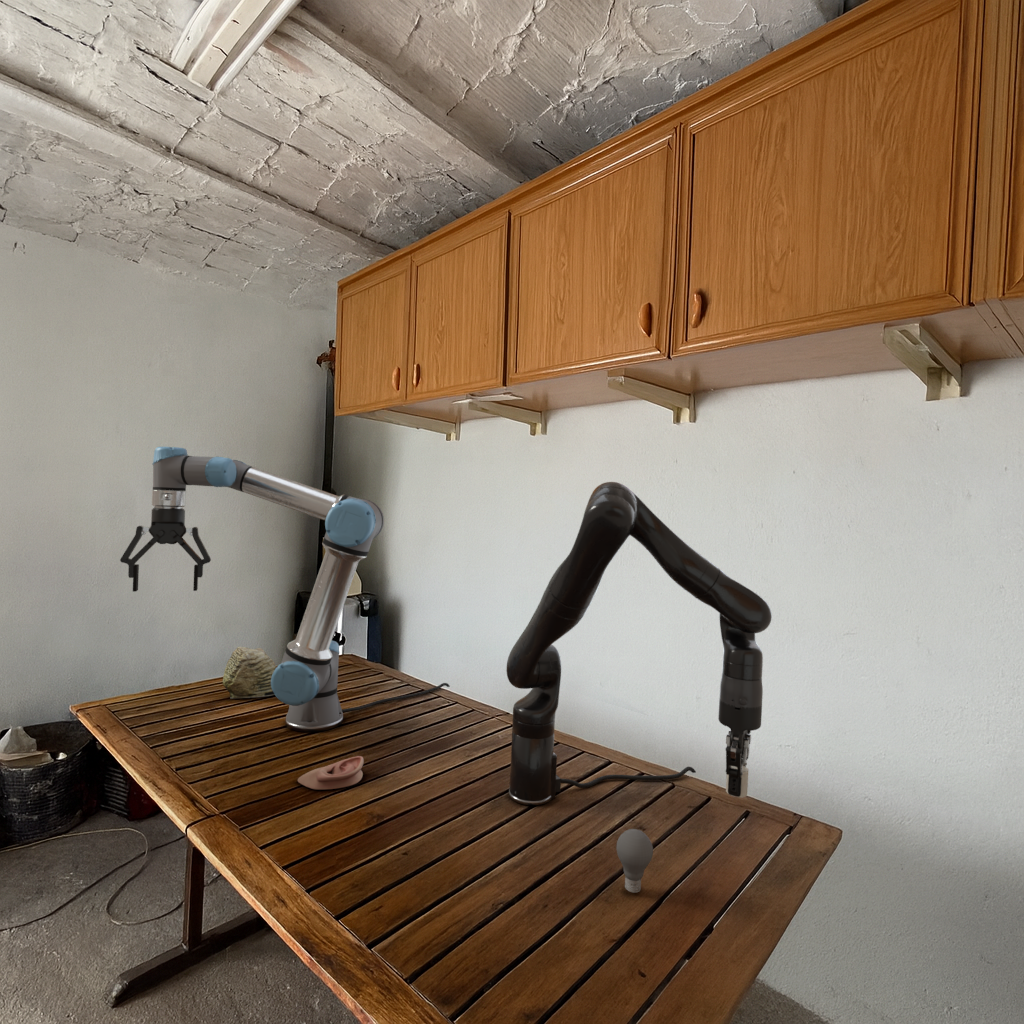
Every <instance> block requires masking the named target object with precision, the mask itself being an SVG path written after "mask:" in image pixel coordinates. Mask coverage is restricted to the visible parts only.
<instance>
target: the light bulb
mask: <svg viewBox="0 0 1024 1024" xmlns="http://www.w3.org/2000/svg"><path fill="white" fill-rule="evenodd" d="M615 849H616V854H617V857H618V859H619V861H620V863H621V865H622V867H623V873H624V874H623V875H624V876H625V878H624V888H625V890H627V891H628V892H630V893H634V894H635V893H639V892H640V891H641V889H642V887H641V886H642V879H643V877H644V875H645V871H646V868H647V867H648V866H649V864H650V863H651V861H652V859H653V855H654V847H653V843H652V841H651V838H649V836H648V835H647V834H646V833H645V832H643V831H642V830H641V829H636V828H629V829H627V830H625V831H623V832H622V833H621V834H620V835H619V837H618V839H617V841H616V847H615Z"/></svg>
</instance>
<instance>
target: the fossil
mask: <svg viewBox="0 0 1024 1024" xmlns="http://www.w3.org/2000/svg"><path fill="white" fill-rule="evenodd" d="M276 668H277V665H276V663H275V662H274V660H273V659H272V658H271V657H270V656H269V655H268V654H267V653H266V652H265V650H264V649H263V648H260V647H258V648H251V647H247V646H246V647H245V646H238V647H237V648H236V649H235V650H233V651H232V653H231V656H230V657H229V659H228V660H227V663H226V666H225V668H224V671H223V675H222V676H223V677H222V685H223V687H224V688H225V690H226V691H228V693H229V698H230V699H250V698H264V697H271V696H275V694H274V692H273V691H272V688H271V677H272V674H273V672H274V671H275V669H276Z"/></svg>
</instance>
